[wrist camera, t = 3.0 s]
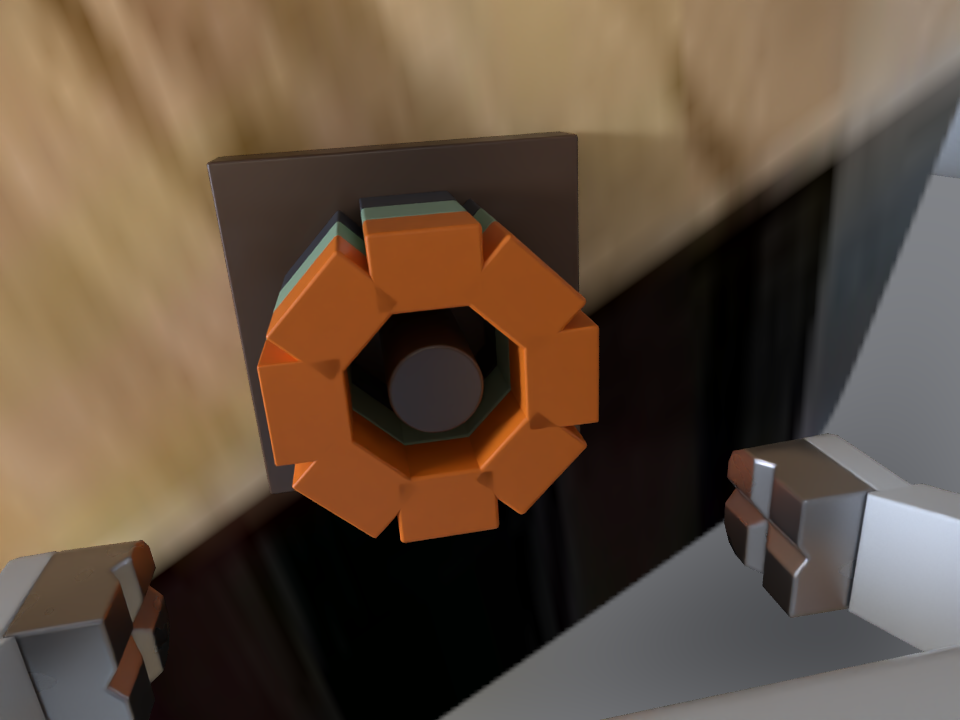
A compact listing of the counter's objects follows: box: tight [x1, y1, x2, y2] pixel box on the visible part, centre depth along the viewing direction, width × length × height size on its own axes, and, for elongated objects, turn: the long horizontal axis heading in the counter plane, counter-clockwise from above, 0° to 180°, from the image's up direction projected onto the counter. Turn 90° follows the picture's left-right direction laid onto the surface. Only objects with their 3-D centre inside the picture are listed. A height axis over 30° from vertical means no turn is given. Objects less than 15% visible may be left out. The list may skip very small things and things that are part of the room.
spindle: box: [207, 132, 580, 494], centre depth 17 cm, size 9×9×6 cm
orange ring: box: [257, 211, 599, 543], centre depth 15 cm, size 7×7×2 cm
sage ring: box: [266, 200, 511, 445], centre depth 16 cm, size 7×7×2 cm
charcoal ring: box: [280, 191, 497, 412], centre depth 18 cm, size 7×7×2 cm
